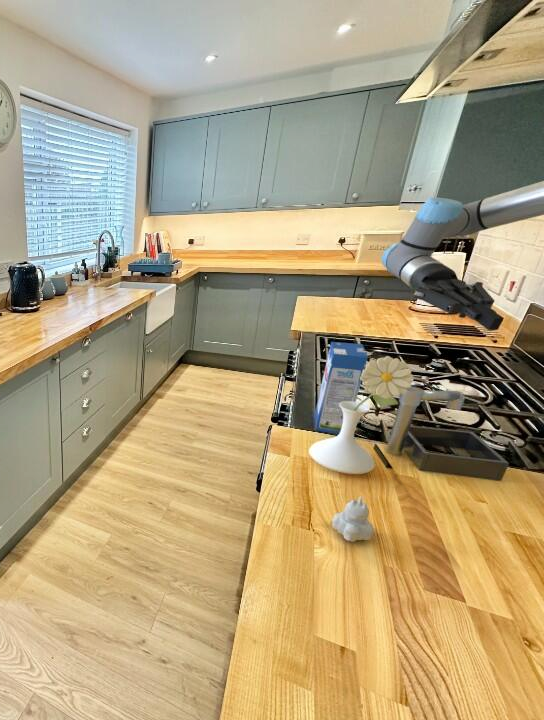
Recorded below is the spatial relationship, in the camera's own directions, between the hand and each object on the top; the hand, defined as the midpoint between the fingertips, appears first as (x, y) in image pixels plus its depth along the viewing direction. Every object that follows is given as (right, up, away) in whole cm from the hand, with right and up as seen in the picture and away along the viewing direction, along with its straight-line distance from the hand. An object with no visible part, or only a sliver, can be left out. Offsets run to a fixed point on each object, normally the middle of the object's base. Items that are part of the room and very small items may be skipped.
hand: (496, 324), depth 84 cm
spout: (-14, -17, 0) cm, 22 cm away
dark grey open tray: (-9, -29, +2) cm, 31 cm away
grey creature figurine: (-41, -38, -14) cm, 58 cm away
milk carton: (-19, -23, +20) cm, 36 cm away
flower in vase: (-28, -30, +4) cm, 41 cm away
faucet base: (-17, -29, +5) cm, 33 cm away
